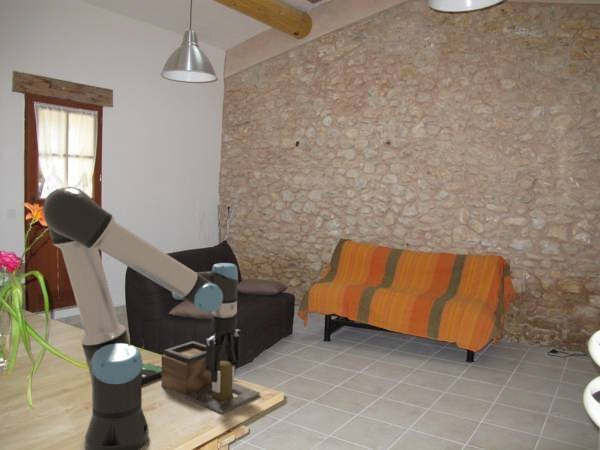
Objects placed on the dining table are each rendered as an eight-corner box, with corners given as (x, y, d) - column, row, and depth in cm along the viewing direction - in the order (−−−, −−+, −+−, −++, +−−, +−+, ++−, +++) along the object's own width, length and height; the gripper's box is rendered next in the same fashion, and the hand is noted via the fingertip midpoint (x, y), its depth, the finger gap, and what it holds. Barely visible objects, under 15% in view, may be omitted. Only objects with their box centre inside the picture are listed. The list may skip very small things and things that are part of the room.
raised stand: (186, 396, 151) (186, 359, 150) (161, 385, 158) (161, 350, 157) (219, 382, 162) (219, 348, 161) (195, 372, 169) (195, 340, 168)
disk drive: (130, 391, 154) (167, 376, 166) (130, 383, 154) (167, 368, 166) (110, 383, 160) (148, 369, 172) (110, 374, 160) (148, 361, 172)
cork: (222, 403, 147) (223, 367, 146) (208, 397, 150) (209, 362, 149) (236, 396, 152) (237, 362, 151) (223, 390, 155) (223, 357, 154)
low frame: (222, 414, 140) (222, 410, 140) (185, 398, 149) (185, 394, 149) (259, 395, 153) (259, 392, 152) (223, 381, 162) (223, 378, 162)
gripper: (210, 323, 139) (209, 401, 141) (253, 310, 154) (252, 382, 156) (192, 318, 144) (192, 394, 146) (236, 306, 158) (235, 376, 160)
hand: (223, 388), depth 151 cm, fingers closed on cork, 5 cm apart
